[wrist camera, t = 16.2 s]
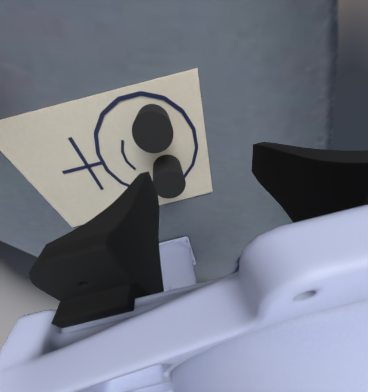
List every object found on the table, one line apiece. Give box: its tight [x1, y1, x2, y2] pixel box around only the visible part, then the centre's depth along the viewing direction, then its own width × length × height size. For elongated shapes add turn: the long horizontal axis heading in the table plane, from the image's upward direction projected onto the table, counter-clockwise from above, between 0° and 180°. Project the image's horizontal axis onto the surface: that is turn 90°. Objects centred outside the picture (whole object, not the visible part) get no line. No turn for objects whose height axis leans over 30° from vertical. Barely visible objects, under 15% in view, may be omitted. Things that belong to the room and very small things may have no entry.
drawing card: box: [0, 68, 213, 227], centre depth 20 cm, size 15×22×1 cm
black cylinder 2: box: [153, 154, 186, 199], centre depth 19 cm, size 4×4×4 cm
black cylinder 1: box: [132, 104, 174, 153], centre depth 16 cm, size 4×4×4 cm
